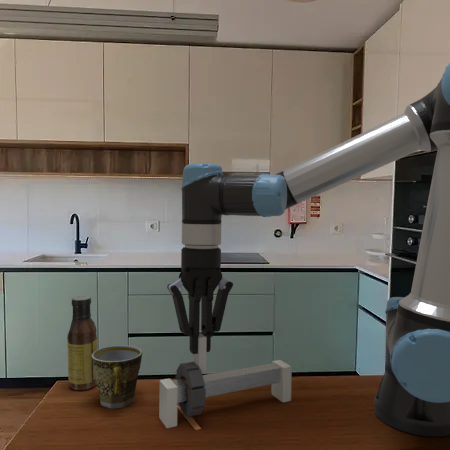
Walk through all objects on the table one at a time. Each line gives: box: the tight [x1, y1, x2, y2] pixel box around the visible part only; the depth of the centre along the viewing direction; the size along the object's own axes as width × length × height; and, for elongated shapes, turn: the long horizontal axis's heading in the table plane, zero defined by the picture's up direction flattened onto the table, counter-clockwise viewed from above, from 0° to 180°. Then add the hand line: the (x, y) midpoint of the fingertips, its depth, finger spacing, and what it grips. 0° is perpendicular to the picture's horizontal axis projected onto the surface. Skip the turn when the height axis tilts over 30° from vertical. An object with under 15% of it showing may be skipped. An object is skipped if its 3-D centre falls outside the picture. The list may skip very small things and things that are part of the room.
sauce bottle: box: [66, 295, 98, 391], centre depth 94 cm, size 7×6×20 cm
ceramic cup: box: [92, 344, 143, 410], centre depth 86 cm, size 13×10×10 cm
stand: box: [158, 359, 293, 431], centre depth 85 cm, size 27×10×7 cm, turn 116°
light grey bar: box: [171, 362, 282, 404], centre depth 85 cm, size 25×3×3 cm, turn 116°
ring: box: [175, 361, 207, 417], centre depth 81 cm, size 2×9×9 cm, turn 26°
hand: (199, 369), depth 82 cm, fingers closed
